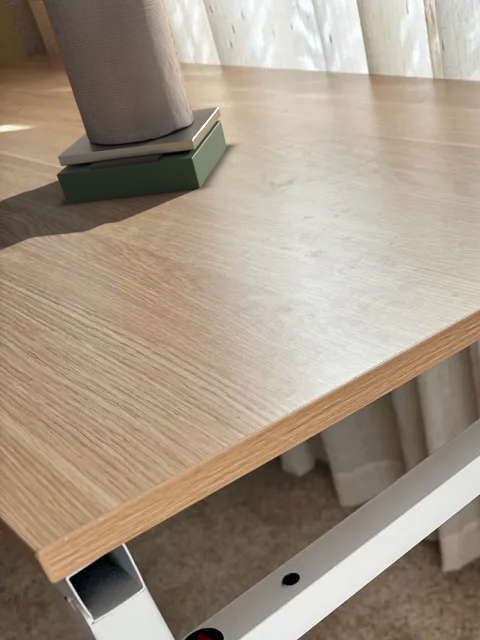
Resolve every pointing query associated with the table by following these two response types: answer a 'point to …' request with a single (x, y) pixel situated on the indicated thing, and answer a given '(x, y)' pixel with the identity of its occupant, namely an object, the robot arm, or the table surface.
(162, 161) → the scale
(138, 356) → the table surface
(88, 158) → the pan
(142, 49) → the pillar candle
